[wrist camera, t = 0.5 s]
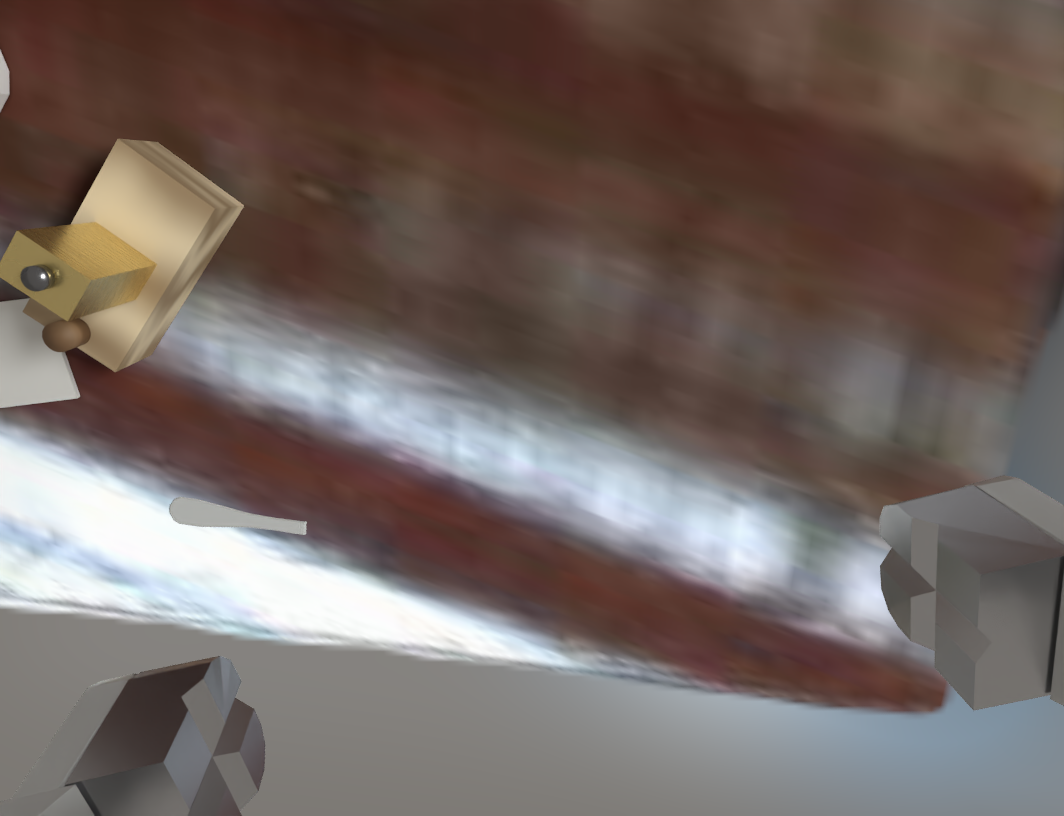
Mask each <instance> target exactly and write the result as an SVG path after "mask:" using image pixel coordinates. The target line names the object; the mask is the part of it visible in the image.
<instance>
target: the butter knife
mask: <svg viewBox="0 0 1064 816" xmlns="http://www.w3.org/2000/svg"><path fill="white" fill-rule="evenodd" d="M170 514H171V515H172V517H173V519H174V520H175V521H176V522H178V523H179V524H186V525H192V526H200V527H250V528H259V529H269V530H276V531H282V532H289V533H295V534H302V535H305V534H306V523H307V522H306V521H305V522H303V521H301V522H300V521H296V520H288V519H280V518H273V517H267V516H262V515H256V514H250V513H246V512H242V511H239V510H235V509H232V508H228V507H225V506H221V505H217V504H213V503H210V502H206V501H202V500H199V499H192V498H184V497H178V498H176V499H174V500H173V502H172V503H171V505H170Z"/></svg>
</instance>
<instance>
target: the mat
mask: <svg viewBox="0 0 1064 816" xmlns="http://www.w3.org/2000/svg"><path fill="white" fill-rule="evenodd" d="M29 299H30V298H26V299H18V300H10V301H3V302H0V408H4V407H12V406H20V405H28V404H36V403H44V402H52V401H60V400H68V399H76V398H79V397H80V394H79V391H78V388H77V385H76V382H75V380H74V377H73V374H72V371H71V368H70V365H69V362H68V359H67V357H66V354H65V352H56V351H53V350H51V349H50V348H48V347H47V346H46V344H45V343H44V341H43V338H42V331H43V329H44V327H45V326H43V325H42V324H40V323H39V322H37V321H36V320H34V319H33V318H31V317H29V316H28V315H26V314H25V313H23V310H24V308H25V306H26V304H27V302H28V301H29Z"/></svg>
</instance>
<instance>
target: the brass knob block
mask: <svg viewBox="0 0 1064 816" xmlns="http://www.w3.org/2000/svg"><path fill="white" fill-rule="evenodd" d="M156 266H157V264H156V263H155V262H153V261H152V260H150V259H149V258H147V257H146V256H145V255H143V254H142V253H140V252H139V251H137V250H136V249H134V248H133V247H132V246H130V245H129V244H127V243H126V242H124V241H123V240H121V239H120V238H119V237H117V236H116V235H114V234H113V233H111V232H110V231H108V230H107V229H106V228H104V227H103V226H101V225H100V224H98V223H97V222H91V223H81V224H72V225H63V226H54V227H44V228H35V229H26V230H17V231H16V233H15V235H14V237H13V239H12V241H11V243H10V245H9V247H8V248H7V250H6V252H5V254H4V256H3V258H2V260H1V262H0V278H2V279H3V280H5V281H6V282H8V283H9V284H11V285H12V286H14V287H15V288H17V289H19V290H20V291H22V292H23V293H25V294H26V295H28V296H29V297H31V298H32V299H34V300H35V301H37V302H38V303H40V304H41V305H43V306H44V307H46V308H47V309H49V310H51V311H52V312H54V313H55V314H57V315H58V316H60V317H61V318H63V319H64V320H66V321H67V322H68V321H71V320H74V319H77V318H80V317H83V316H87V315H90V314H93V313H96V312H99V311H102V310H105V309H109V308H112V307H115V306H118V305H121V304H124V303H127V302H131V301H134V300H136V299H137V298H138V296H139V294H140V293H141V291H142V289H143V288H144V286H145V284H146V283H147V281H148V279H149V278H150V276H151V274H152V273H153V271H154V269H155V268H156Z"/></svg>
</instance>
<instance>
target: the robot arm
mask: <svg viewBox="0 0 1064 816" xmlns="http://www.w3.org/2000/svg"><path fill="white" fill-rule="evenodd" d="M880 536H881V537H882V538H883V539H884V540H885V541H886V542H887V543H888V544H889V545H890V546H891V547H892V549H891V550H890V552H889V553H888V555H887V556H886V558H885V559H884V561H883V562H882V564H881V565H880V574H881V589H882V592H883V595H884V598H885V601H886V604H887V607H888V610H889V612H890V614H891V615H892V617H893V619H894V620H895V622H896V624H897V626H898V627H899V628H900V629H901V630H902V632H903V633H904V634H905V635H906V636H907V637H908V638H909V640H910V641H912V642H914V643H917V644H919V645H922V646H924V647H926V648H929V649H931V650H934V651H935V669H936V670H937V671H938V672H939V673H940V674H941V675H942V676H943V677H944V679H945V680H946V681H947V682H948V683H949V684H950V685H951V686H952V687H953V688H954V689H955V691H956V692H957V693H958V694H959V695H960V696H961V697H962V698H963V699H964V700H965V702H966V703H967V704H968V705H969V706H970V707H971V708H972V709H973V710H978V709H983V708H988V707H993V706H998V705H1003V704H1008V703H1013V702H1017V701H1023V700H1028V699H1033V698H1038V697H1042V696H1047V695H1051V696H1050V699H1051V700H1053V701H1055V702H1057V703H1059V704H1061V705H1063V706H1064V505H1062V504H1061V503H1059V502H1057V501H1056V500H1053V499H1052V498H1050V497H1049V496H1047V495H1045V494H1044V493H1042V492H1040V491H1039V490H1037V489H1035V488H1034V487H1032V486H1031V485H1029V484H1027V483H1026V482H1024V481H1022V480H1021V479H1019V478H1015V477H1010V476H1000V477H996V478H993V479H989V480H985V481H981V482H977V483H973V484H969V485H966V486H964V487H962V488H958V489H954V490H950V491H946V492H941V493H937V494H933V495H929V496H925V497H920V498H916V499H912V500H908V501H903V502H899V503H895V504H891V505H887V506H884V508H883V510H882V513H881V516H880ZM240 684H241V679H240V677H239V675H238V673H237V672H236V670H235V668H234V666H233V664H232V662H231V660H229V659H227V658H224V657H222V656H218V657H212V658H207V659H202V660H197V661H193V662H188V663H183V664H178V665H173V666H168V667H163V668H158V669H154V670H149V671H144V672H140V673H139V674H130V675H125V676H121V677H117V678H113V679H109V680H104V681H100V682H98V683H96V684H94V685H92V686H90V687H88V688H87V689H86V690H85V692H84V693H83V695H82V696H81V698H80V699H79V700H78V702H77V703H76V705H75V706H74V708H73V709H72V711H71V712H70V714H69V715H68V716H67V718H66V720H65V721H64V722H63V724H62V726H61V727H60V728H59V730H58V731H57V733H56V734H55V735H54V737H53V738H52V740H51V741H50V743H49V744H48V746H47V747H46V749H45V750H44V752H43V753H42V755H41V756H40V757H39V759H38V760H37V762H36V763H35V765H34V766H33V768H32V769H31V771H30V772H29V773H28V775H27V776H26V778H25V779H24V781H23V782H22V784H21V785H20V787H19V788H18V790H17V791H16V793H15V794H14V795H13V797H12V799H9V800H5V801H1V802H0V816H242V815H241V813H240V811H241V810H242V809H243V808H244V806H245V805H246V804H247V803H248V802H249V801H250V800H251V799H252V798H253V797H254V796H255V794H256V793H257V792H258V790H259V787H260V783H261V780H262V776H263V772H264V764H265V741H264V736H263V732H262V727H261V723H260V721H259V719H258V717H257V714H256V712H255V710H254V709H253V708H252V707H250V706H248V705H246V704H245V703H243V702H241V701H240V700H238V699H236V698H235V697H236V694H237V692H238V689H239V686H240Z"/></svg>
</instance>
